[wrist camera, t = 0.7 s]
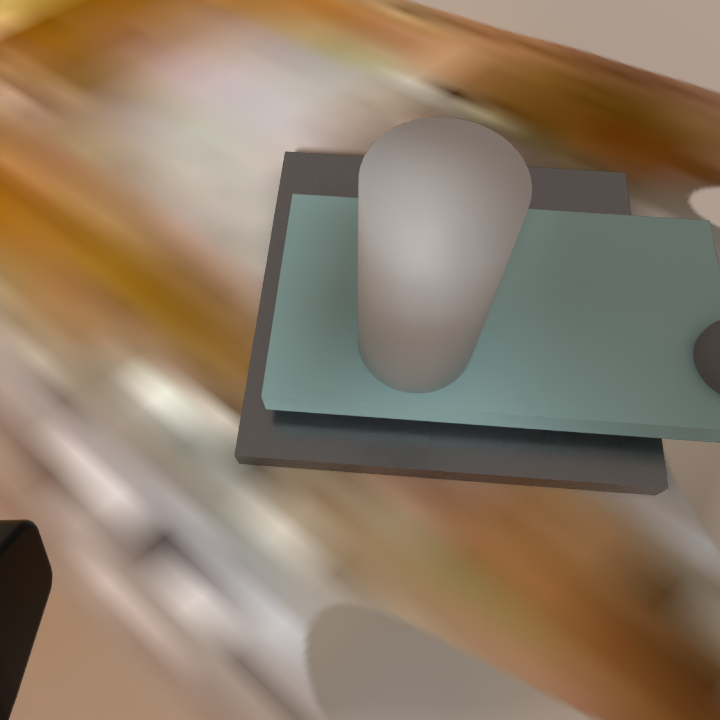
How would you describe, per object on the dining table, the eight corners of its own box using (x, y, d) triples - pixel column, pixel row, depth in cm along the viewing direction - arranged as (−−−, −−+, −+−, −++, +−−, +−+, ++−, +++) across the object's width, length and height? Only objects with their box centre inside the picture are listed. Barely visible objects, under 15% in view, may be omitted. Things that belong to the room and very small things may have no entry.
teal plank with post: (753, 458, 23) (1042, 312, 13) (270, 422, 23) (211, 256, 14) (714, 261, 26) (919, 34, 17) (298, 234, 27) (266, -2, 17)
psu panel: (840, 508, 22) (963, 471, 18) (239, 463, 23) (210, 415, 18) (762, 197, 28) (839, 109, 24) (287, 167, 29) (274, 76, 24)
